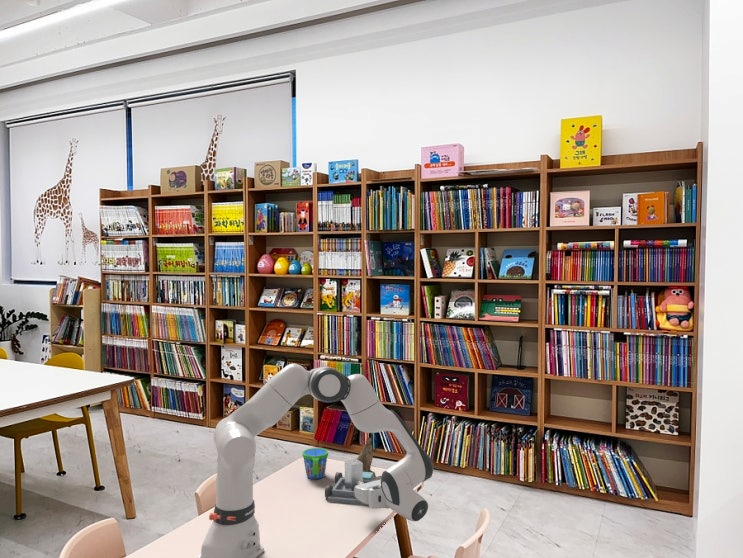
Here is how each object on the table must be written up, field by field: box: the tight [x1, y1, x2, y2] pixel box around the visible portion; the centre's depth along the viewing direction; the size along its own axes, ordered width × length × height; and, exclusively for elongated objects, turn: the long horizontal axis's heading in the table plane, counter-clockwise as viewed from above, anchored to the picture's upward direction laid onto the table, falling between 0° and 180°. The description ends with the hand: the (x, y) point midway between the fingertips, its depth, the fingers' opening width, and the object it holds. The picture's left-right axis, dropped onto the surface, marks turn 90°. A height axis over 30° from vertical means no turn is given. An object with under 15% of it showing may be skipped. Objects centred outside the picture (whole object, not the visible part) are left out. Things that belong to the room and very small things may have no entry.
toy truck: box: [324, 471, 381, 506], centre depth 211 cm, size 20×19×4 cm
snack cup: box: [302, 447, 329, 480], centre depth 227 cm, size 16×10×10 cm
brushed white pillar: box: [344, 458, 363, 491], centre depth 209 cm, size 5×5×11 cm
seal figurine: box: [356, 437, 376, 478], centre depth 228 cm, size 12×6×18 cm, turn 52°
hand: (370, 480), depth 199 cm, fingers open, 8 cm apart
